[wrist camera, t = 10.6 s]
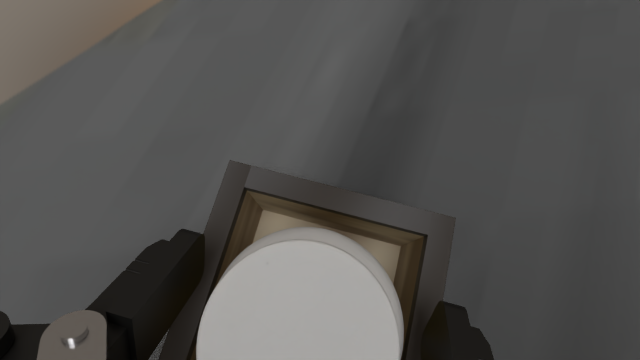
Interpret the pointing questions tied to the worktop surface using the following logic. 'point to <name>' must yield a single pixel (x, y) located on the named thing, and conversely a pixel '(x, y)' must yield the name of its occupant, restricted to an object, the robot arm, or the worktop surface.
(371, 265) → the pill bottle
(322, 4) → the worktop surface
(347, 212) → the wooden box
